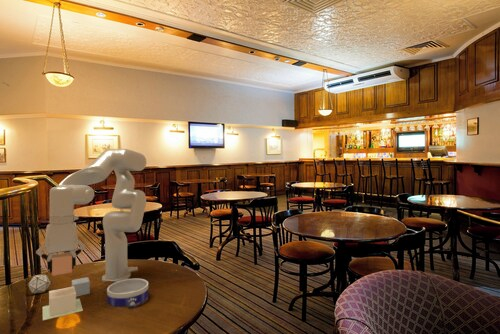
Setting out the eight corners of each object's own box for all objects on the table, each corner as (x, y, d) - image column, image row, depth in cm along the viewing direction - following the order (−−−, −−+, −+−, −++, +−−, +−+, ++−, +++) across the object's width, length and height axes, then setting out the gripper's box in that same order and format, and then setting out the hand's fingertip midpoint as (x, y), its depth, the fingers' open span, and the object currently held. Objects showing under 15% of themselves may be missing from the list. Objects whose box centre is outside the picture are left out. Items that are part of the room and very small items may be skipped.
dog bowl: (117, 314, 109) (117, 297, 109) (100, 301, 120) (100, 285, 120) (155, 300, 120) (155, 284, 120) (137, 289, 131) (137, 275, 131)
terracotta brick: (70, 267, 115) (70, 252, 115) (71, 272, 110) (72, 255, 110) (51, 270, 111) (51, 254, 111) (52, 275, 106) (52, 258, 106)
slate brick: (88, 291, 129) (87, 277, 129) (89, 296, 124) (89, 281, 124) (71, 294, 125) (71, 280, 125) (72, 299, 120) (72, 284, 120)
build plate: (79, 301, 119) (79, 298, 119) (82, 313, 109) (82, 310, 109) (42, 309, 112) (42, 306, 112) (42, 323, 102) (42, 320, 102)
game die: (40, 303, 125) (35, 290, 119) (24, 294, 127) (18, 281, 121) (58, 286, 132) (54, 272, 126) (43, 278, 134) (38, 264, 128)
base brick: (74, 301, 116) (73, 286, 116) (76, 309, 110) (75, 293, 110) (49, 307, 112) (49, 291, 112) (49, 316, 105) (49, 299, 105)
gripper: (87, 216, 119) (87, 262, 118) (33, 221, 109) (32, 271, 109) (89, 219, 112) (89, 268, 112) (32, 224, 103) (32, 277, 102)
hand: (61, 269), depth 110 cm, fingers closed on terracotta brick, 6 cm apart
